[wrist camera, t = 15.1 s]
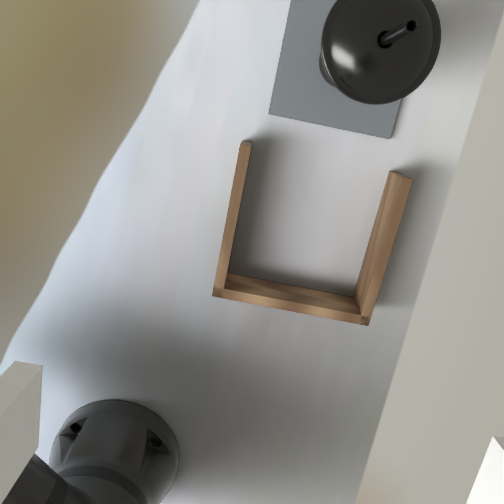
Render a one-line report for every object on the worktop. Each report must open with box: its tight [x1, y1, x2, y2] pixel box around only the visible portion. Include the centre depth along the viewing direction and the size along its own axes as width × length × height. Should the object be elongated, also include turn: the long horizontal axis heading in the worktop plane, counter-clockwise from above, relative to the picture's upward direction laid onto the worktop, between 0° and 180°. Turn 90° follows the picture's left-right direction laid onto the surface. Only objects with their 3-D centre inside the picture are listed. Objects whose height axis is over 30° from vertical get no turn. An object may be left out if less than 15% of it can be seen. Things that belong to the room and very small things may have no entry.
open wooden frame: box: [212, 141, 413, 326], centre depth 46 cm, size 16×15×4 cm
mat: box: [268, 0, 401, 139], centre depth 43 cm, size 12×12×1 cm
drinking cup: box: [319, 0, 441, 105], centre depth 33 cm, size 8×8×20 cm
